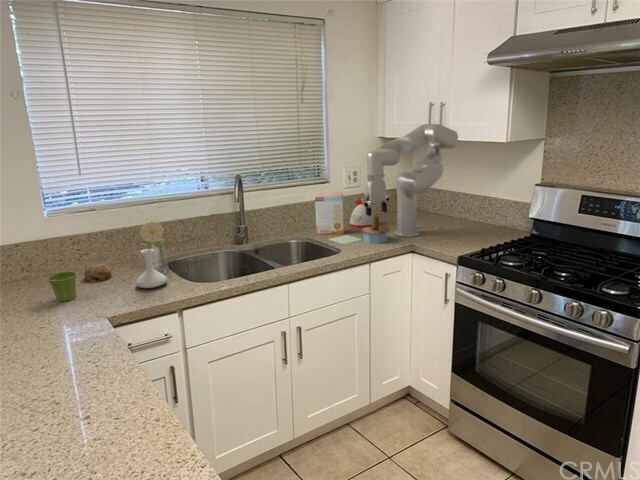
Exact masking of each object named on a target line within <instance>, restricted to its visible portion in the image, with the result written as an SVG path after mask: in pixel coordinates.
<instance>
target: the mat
mask: <svg viewBox="0 0 640 480" xmlns="http://www.w3.org/2000/svg"><path fill="white" fill-rule="evenodd" d="M328 240H329V241H332V242H335V243H338V244H341V245H345V244H349V243H355V242H358V241H363V239H362V238H358V237H355V236H352V235H348V234H345V235H340V236H337V237H336V236H335V237H332V238H328Z"/></svg>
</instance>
